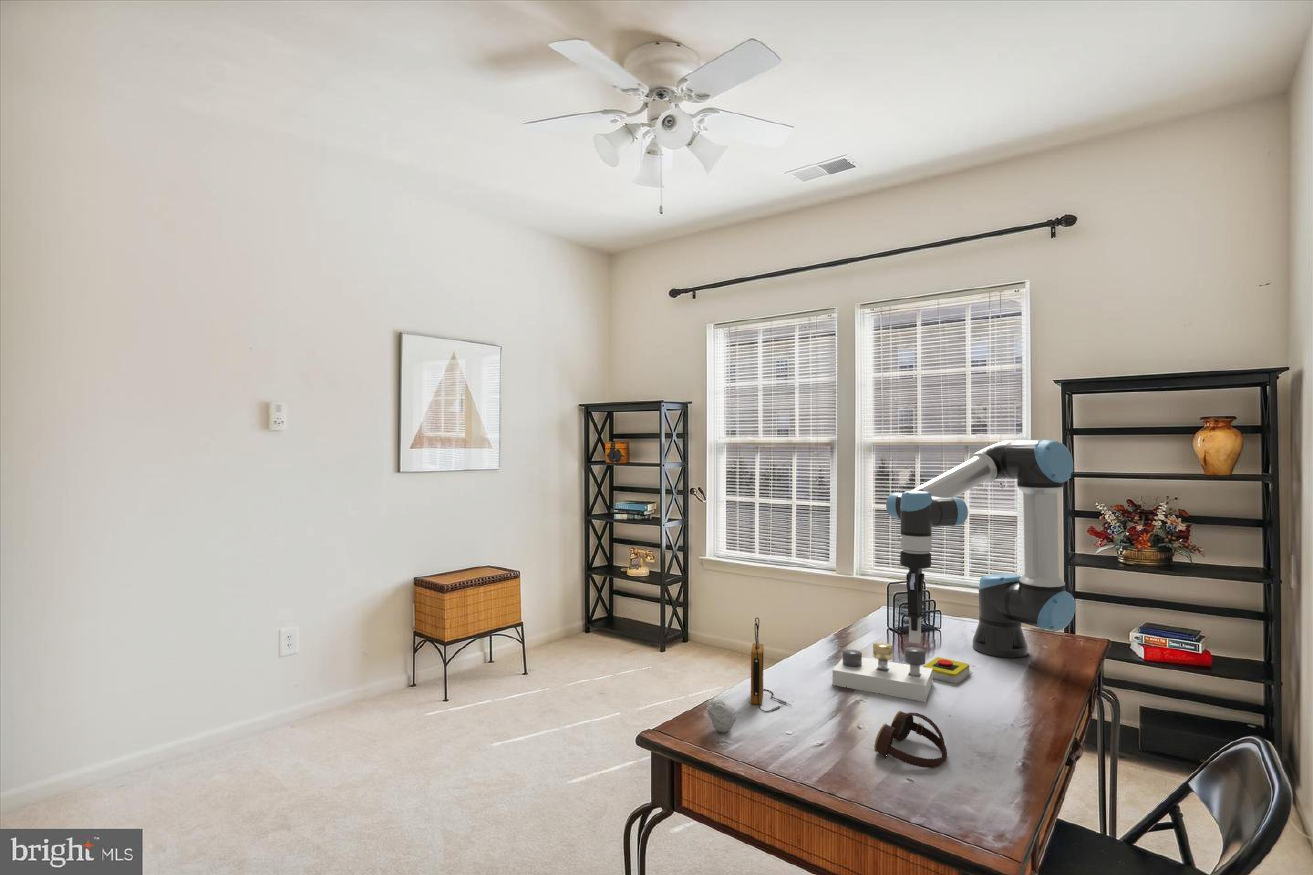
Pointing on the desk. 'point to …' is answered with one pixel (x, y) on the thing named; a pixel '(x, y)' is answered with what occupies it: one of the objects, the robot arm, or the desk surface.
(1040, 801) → the desk surface
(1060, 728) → the desk surface
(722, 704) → the crumpled paper ball
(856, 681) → the mount plate
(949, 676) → the emergency button
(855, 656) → the knob far
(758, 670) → the multimeter
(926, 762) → the goggles
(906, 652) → the knob near
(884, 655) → the knob middle
